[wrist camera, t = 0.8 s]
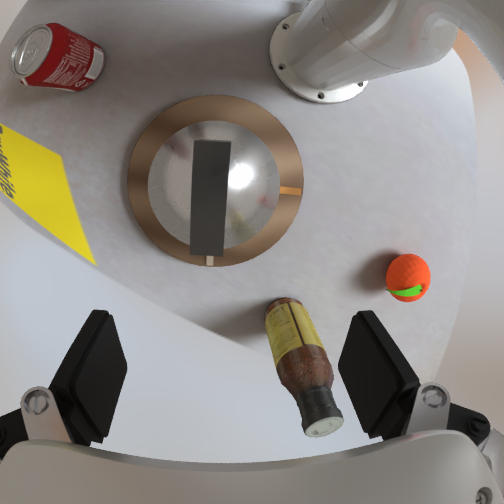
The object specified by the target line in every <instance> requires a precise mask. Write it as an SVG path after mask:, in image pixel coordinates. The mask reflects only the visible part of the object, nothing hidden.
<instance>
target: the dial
mask: <svg viewBox="0 0 504 504" xmlns="http://www.w3.org/2000/svg"><path fill="white" fill-rule="evenodd" d="M279 193H280V177H279V172H278V167H277V164H276V162H275V159H274V157H273V155H272V153H271V151H270V150H269V149H268V147H267V146H266V145H265V143H264V142H263V141H262V140H261V139H260V138H259V137H258V136H256V135H255V134H254V133H252V132H251V131H249V130H247V129H246V128H244V127H242V126H239V125H237V124H234V123H230V122H225V121H204V122H199V123H195V124H192V125H189V126H187V127H185V128H183V129H181V130H179V131H178V132H176V133H175V134H173V135H172V136H171V137H170V138H169V139H168V140H167V141H166V142H165V143H164V144H163V145H162V146H161V148H160V149H159V150H158V152H157V154H156V156H155V157H154V159H153V162H152V165H151V167H150V171H149V176H148V195H149V200H150V204H151V207H152V210H153V212H154V214H155V216H156V218H157V219H158V221H159V222H160V224H161V225H162V226H163V227H164V228H165V229H166V230H167V231H168V232H169V233H170V234H171V235H172V236H174V237H175V238H177V239H178V240H180V241H182V242H183V243H185V244H188V245H190V255H200V256H219V257H223V252H224V249H226V248H230V247H234V246H237V245H239V244H242V243H244V242H246V241H247V240H249V239H251V238H252V237H253V236H255V235H256V234H257V233H258V232H259V231H261V230H262V229H263V227H264V226H265V225H266V224H267V223H268V221H269V220H270V218H271V217H272V215H273V213H274V210H275V208H276V205H277V202H278V198H279Z"/></svg>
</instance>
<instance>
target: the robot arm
mask: <svg viewBox="0 0 504 504" xmlns="http://www.w3.org/2000/svg"><path fill="white" fill-rule="evenodd" d="M283 27H285V28H286V30H285V29H283ZM458 28H460V29H462V30H463V31H464V32H465V33H466V34H467V35H468V37H469V38H470V39H471V40H472V41H473V42H474V44H475V45H476V46H477V47H478V49H479V50H480V51H481V53H482V54H483V55H484V56H485V57H486V58H487V59H488V61H489V62H490V64H491V65H492V67H493V68H494V70H495V71H496V73H497V74H498V76H499V77H500V79H501V81H502V82H503V84H504V0H311V1H310V2H309V4H308V5H307V7H306V8H305V9H304V11H302V12H298V13H295V14H293V15H290V16H288V17H287V18H286V19H284V20H283V21H281V23H280V24H279V25H278V26H277V27H276V29H275V31H274V32H273V34H272V37H271V40H270V45H269V55H270V61H271V64H272V67H273V69H274V71H275V73H276V74H277V76H278V78H279V79H280V80H281V81H282V82H283V84H284V85H285V86H286V87H288V88H289V89H290V90H291V91H292V92H294V93H296V94H297V95H299V96H300V97H302V98H305V99H307V100H310V101H313V102H317V103H325V104H333V103H340V102H344V101H347V100H349V99H352V98H354V97H355V96H357V95H358V94H359V93H361V92H362V91H363V89H364V88H365V87H366V85H367V83H368V82H369V80H372V79H375V78H379V77H382V76H386V75H390V74H394V73H398V72H402V71H406V70H411V69H415V68H420V67H424V66H428V65H431V64H433V63H436V62H437V61H439V60H441V59H442V58H443V57H444V56H445V55H446V54H447V53H448V52H449V51H450V50H451V48H452V46H453V44H454V42H455V39H456V36H457V33H458ZM280 66H281V67H282V68H283V69H282V70H280V69H279V67H280ZM357 84H359V86H358V85H357ZM317 95H320V98H318V96H317ZM338 370H339V372H340V375H341V377H342V380H343V382H344V384H345V387H346V389H347V392H348V394H349V397H350V399H351V401H352V404H353V406H354V409H355V411H356V414H357V416H358V419H359V421H360V424H361V426H362V429H363V431H364V432H365V433H368V435H369V438H370V439H371V438H375V437H378V436H382V439H383V441H382V442H378V443H374V444H371V445H367V446H362V447H359V448H354V449H350V450H345V451H341V452H335V453H330V454H324V455H319V456H313V457H306V458H298V459H290V460H281V461H269V462H253V463H198V462H181V461H170V460H160V459H152V458H145V457H138V456H132V455H127V454H121V453H115V452H110V451H105V450H101V449H96V448H92V447H89V446H90V444H91V441H93V442H97V443H101V444H102V442H103V438H104V437H107V436H108V433H109V429H110V426H111V422H112V419H113V415H114V412H115V408H116V405H117V402H118V398H119V395H120V392H121V388H122V385H123V382H124V379H125V376H126V373H127V362H126V359H125V356H124V353H123V350H122V347H121V343H120V340H119V337H118V333H117V330H116V326H115V322H114V319H113V316H112V315H109V313H108V311H106V310H93V311H92V312H91V314H90V315H89V317H88V319H87V320H86V322H85V323H84V325H83V327H82V328H81V330H80V332H79V334H78V335H77V337H76V339H75V340H74V342H73V343H72V345H71V347H70V348H69V350H68V352H67V354H66V356H65V357H64V359H63V361H62V363H61V365H60V367H59V369H58V370H57V373H56V374H55V376H54V378H53V380H52V382H51V384H50V386H49V388H48V389H47V388H45V387H40V386H39V387H33V388H31V389H29V390H28V391H27V392H25V394H24V395H23V397H22V399H21V403H20V404H21V408H20V409H17V410H15V411H13V412H10V413H8V414H6V415H3V416H1V417H0V504H504V435H503V434H501V433H500V432H499V431H497V430H496V429H494V428H493V430H492V431H491V430H490V423H489V421H488V419H487V418H486V417H485V416H484V415H483V414H481V413H478V412H475V411H473V410H470V409H467V408H464V407H461V406H459V405H456V404H452V403H450V395H449V393H448V391H447V390H446V389H445V388H444V387H443V386H442V385H440V384H437V383H433V382H428V383H425V384H422V385H421V384H420V383H419V378H418V377H417V375H416V374H415V372H414V371H413V369H412V368H411V366H410V364H409V363H408V361H407V360H406V358H405V357H404V355H403V354H402V352H401V351H400V349H399V348H398V346H397V345H396V343H395V342H394V341H393V339H392V338H391V336H390V335H389V333H388V332H387V330H386V329H385V327H384V326H383V325H382V323H381V322H380V320H379V319H378V318H377V316H376V315H375V313H374V312H373V311H372V310H368V311H358V312H357V314H356V315H354V316H353V318H352V321H351V324H350V328H349V331H348V334H347V337H346V341H345V344H344V347H343V350H342V353H341V356H340V359H339V362H338Z"/></svg>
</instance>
